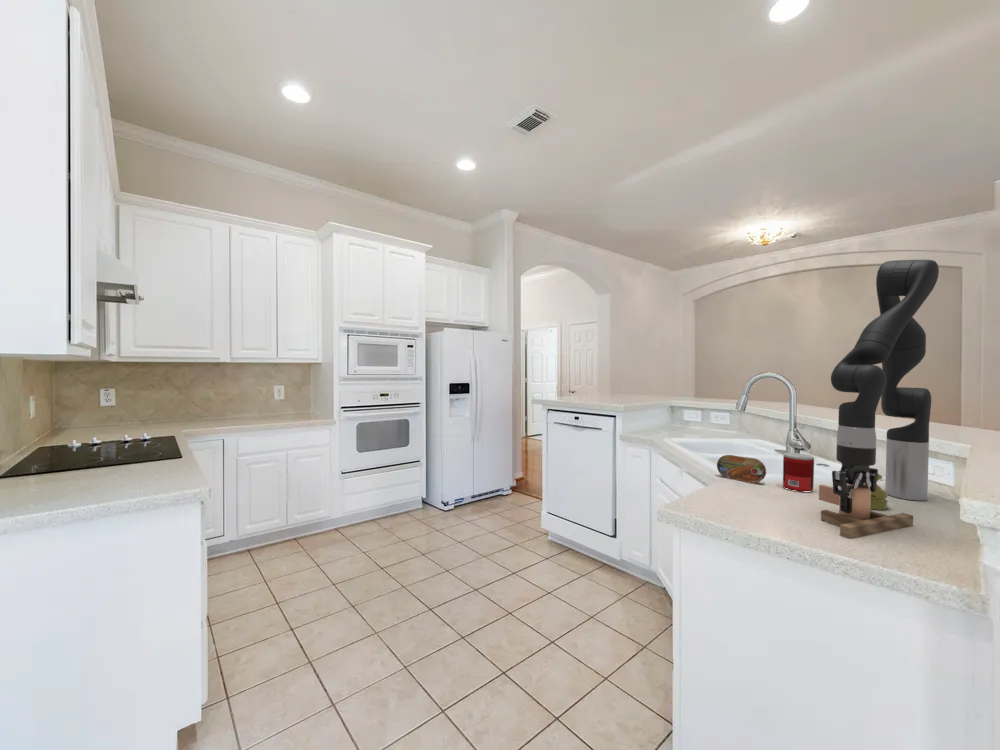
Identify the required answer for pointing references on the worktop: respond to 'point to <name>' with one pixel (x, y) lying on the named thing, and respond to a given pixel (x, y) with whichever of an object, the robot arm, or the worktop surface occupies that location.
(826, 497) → the tan paddle shape
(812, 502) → the worktop surface
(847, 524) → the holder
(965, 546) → the worktop surface
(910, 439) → the robot arm
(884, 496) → the brass doorknob
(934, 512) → the worktop surface
